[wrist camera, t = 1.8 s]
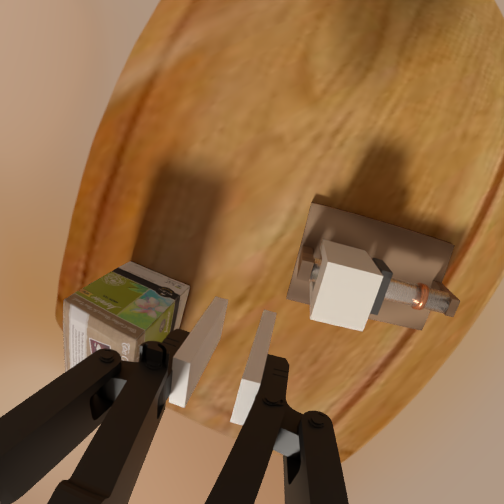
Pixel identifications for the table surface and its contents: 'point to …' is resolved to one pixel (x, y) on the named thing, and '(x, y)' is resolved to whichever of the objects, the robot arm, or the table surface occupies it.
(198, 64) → the table surface
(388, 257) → the board
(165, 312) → the tea box
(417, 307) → the pipe
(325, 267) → the sleeve
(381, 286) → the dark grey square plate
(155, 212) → the table surface
